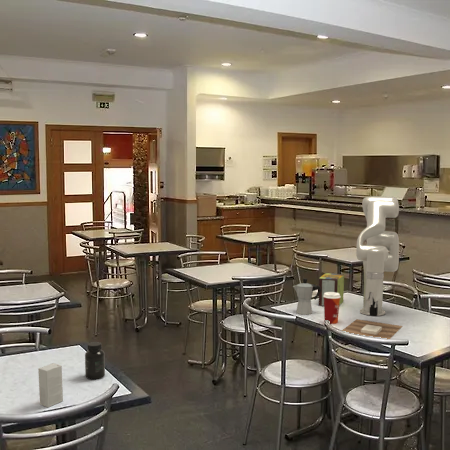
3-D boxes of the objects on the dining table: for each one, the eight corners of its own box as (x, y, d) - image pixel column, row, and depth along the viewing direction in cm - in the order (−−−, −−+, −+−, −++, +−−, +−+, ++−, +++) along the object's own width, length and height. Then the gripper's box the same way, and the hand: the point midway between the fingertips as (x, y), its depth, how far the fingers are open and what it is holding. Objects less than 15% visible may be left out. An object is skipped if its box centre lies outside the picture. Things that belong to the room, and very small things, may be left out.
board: (356, 321, 274) (356, 319, 274) (402, 328, 263) (402, 326, 263) (340, 334, 254) (340, 331, 254) (389, 342, 242) (389, 339, 242)
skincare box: (54, 398, 183) (53, 362, 182) (63, 401, 181) (62, 365, 179) (38, 404, 178) (37, 368, 177) (47, 408, 176) (46, 371, 174)
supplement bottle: (82, 375, 203) (81, 343, 201) (100, 371, 207) (99, 339, 205) (89, 381, 197) (89, 348, 196) (108, 377, 201) (107, 344, 200)
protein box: (343, 301, 314) (344, 274, 312) (337, 308, 300) (338, 279, 298) (325, 299, 318) (325, 272, 316) (317, 306, 304) (318, 277, 302)
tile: (366, 324, 259) (360, 329, 252) (382, 326, 256) (376, 331, 248) (366, 327, 260) (360, 332, 252) (381, 330, 256) (376, 335, 248)
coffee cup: (339, 327, 264) (340, 296, 263) (322, 326, 266) (322, 295, 264) (339, 322, 273) (340, 292, 271) (322, 321, 274) (323, 291, 273)
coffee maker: (291, 314, 286) (292, 279, 284) (291, 310, 295) (292, 276, 293) (321, 315, 284) (322, 280, 282) (320, 311, 293) (321, 277, 291)
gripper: (371, 272, 262) (370, 310, 264) (361, 277, 249) (360, 318, 251) (387, 273, 258) (386, 312, 260) (378, 279, 245) (377, 320, 247)
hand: (373, 315), depth 255 cm, fingers closed
